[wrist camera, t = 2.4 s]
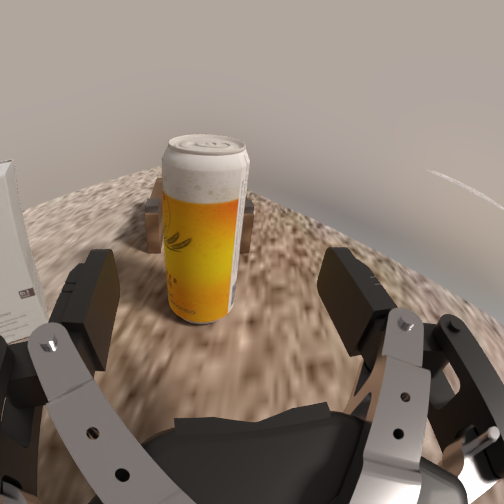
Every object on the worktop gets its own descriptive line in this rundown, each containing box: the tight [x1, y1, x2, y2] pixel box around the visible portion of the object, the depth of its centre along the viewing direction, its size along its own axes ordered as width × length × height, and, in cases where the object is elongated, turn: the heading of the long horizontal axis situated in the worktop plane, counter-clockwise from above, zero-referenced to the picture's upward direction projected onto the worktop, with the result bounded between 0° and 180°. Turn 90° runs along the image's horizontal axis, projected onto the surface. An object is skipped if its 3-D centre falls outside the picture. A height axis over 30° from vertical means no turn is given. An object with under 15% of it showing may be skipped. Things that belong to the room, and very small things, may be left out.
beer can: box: [162, 134, 250, 324], centre depth 23 cm, size 6×6×15 cm
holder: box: [145, 178, 254, 253], centre depth 37 cm, size 12×12×6 cm
